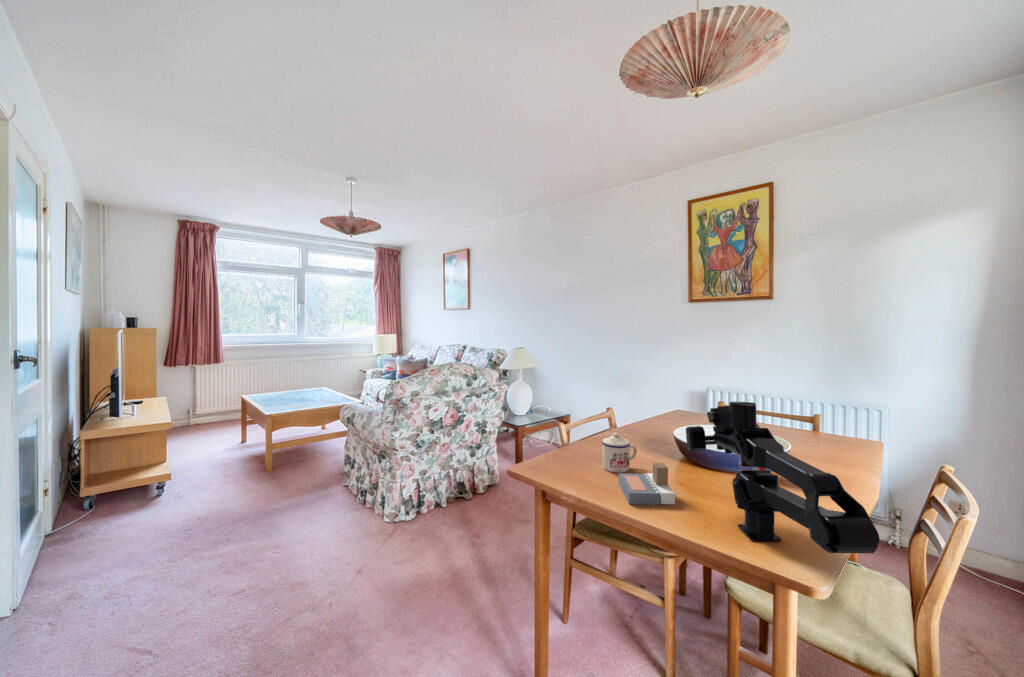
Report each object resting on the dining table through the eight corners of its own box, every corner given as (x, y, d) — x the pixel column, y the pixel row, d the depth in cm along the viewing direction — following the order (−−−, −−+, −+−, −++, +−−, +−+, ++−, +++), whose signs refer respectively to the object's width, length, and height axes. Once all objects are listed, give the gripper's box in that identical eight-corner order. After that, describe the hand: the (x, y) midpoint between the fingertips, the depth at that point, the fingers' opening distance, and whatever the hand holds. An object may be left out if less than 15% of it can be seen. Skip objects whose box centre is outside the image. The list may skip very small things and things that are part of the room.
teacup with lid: (609, 474, 129) (609, 438, 129) (597, 464, 138) (597, 430, 138) (643, 471, 132) (643, 435, 132) (629, 461, 141) (629, 428, 140)
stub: (674, 504, 108) (675, 474, 107) (660, 504, 108) (661, 474, 108) (659, 483, 122) (659, 456, 121) (646, 483, 122) (647, 456, 122)
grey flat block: (659, 504, 108) (659, 493, 108) (629, 504, 108) (629, 492, 108) (645, 483, 122) (645, 473, 122) (618, 483, 122) (618, 473, 122)
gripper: (771, 407, 102) (738, 400, 118) (696, 412, 102) (673, 405, 118) (776, 452, 102) (742, 439, 117) (701, 457, 102) (677, 444, 118)
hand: (708, 431), depth 118 cm, fingers open, 9 cm apart
